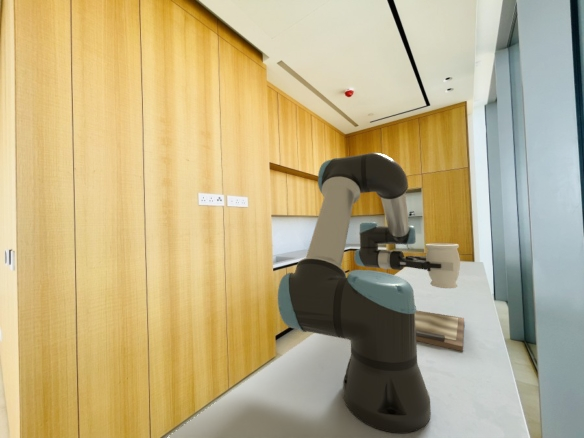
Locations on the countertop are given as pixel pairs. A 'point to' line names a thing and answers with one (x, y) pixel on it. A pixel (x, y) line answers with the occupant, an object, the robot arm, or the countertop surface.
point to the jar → (443, 254)
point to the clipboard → (440, 329)
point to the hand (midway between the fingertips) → (456, 264)
